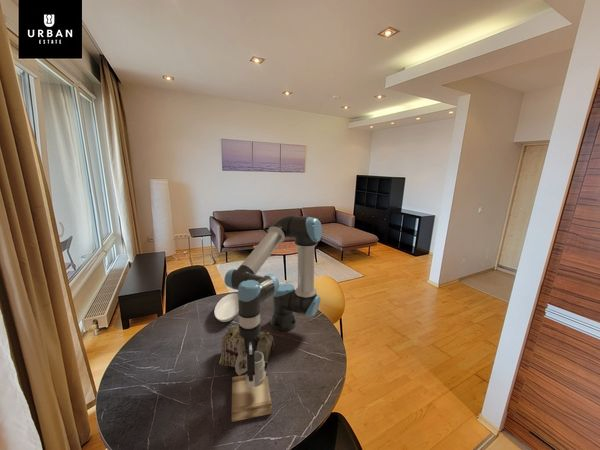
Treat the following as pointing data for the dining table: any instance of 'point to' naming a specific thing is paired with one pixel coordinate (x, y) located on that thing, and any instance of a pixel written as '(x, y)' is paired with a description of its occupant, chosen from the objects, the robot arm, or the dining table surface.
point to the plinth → (249, 399)
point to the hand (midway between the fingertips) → (250, 377)
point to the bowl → (227, 308)
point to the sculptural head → (243, 346)
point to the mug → (259, 367)
